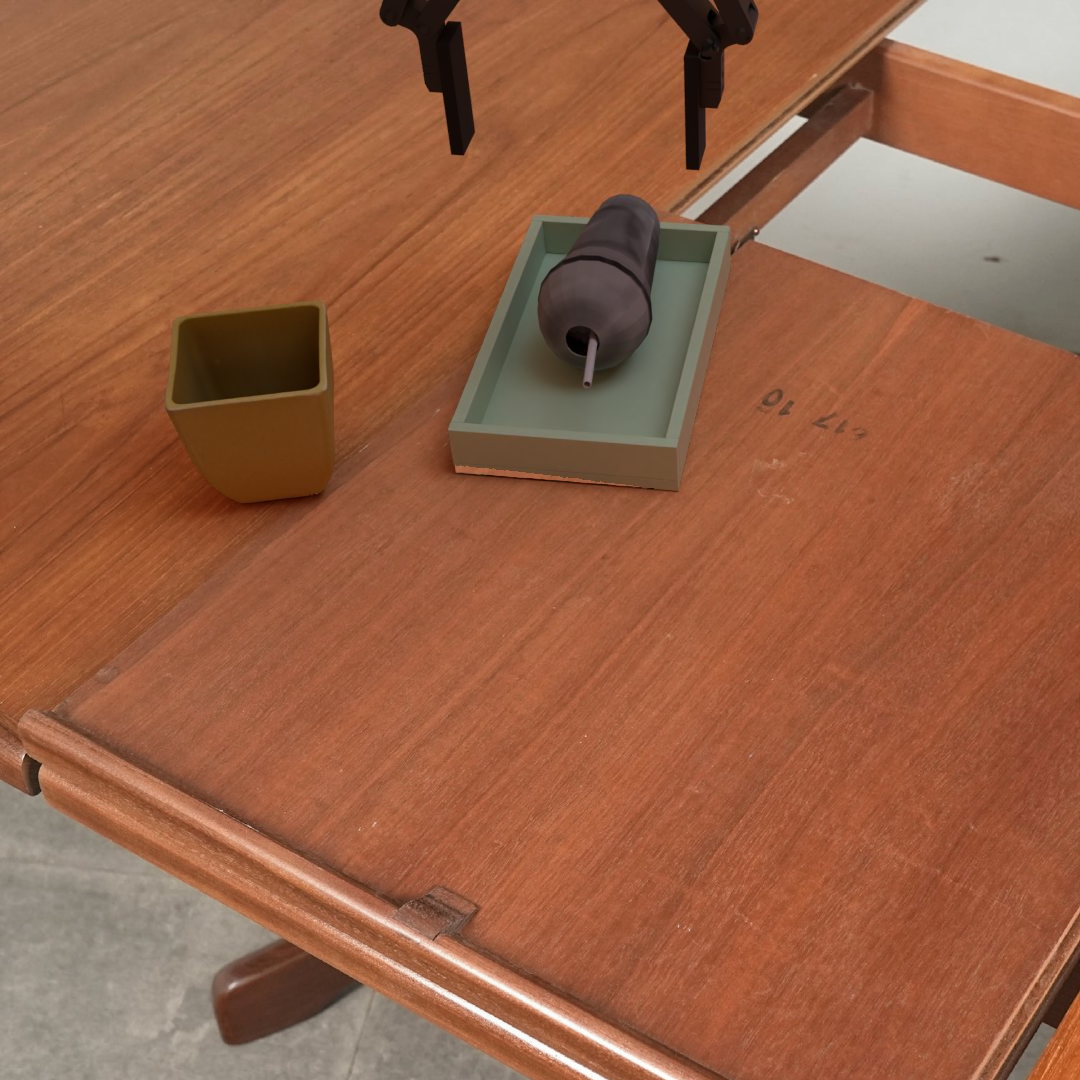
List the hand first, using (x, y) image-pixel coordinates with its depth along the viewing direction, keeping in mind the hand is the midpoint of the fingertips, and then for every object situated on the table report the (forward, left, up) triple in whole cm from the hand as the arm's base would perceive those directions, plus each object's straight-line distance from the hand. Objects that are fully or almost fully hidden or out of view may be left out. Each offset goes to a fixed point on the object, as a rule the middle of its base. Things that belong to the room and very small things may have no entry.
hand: (578, 151), depth 89 cm
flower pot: (-18, -12, -15) cm, 26 cm away
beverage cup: (+1, +11, -12) cm, 16 cm away
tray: (0, 0, -15) cm, 15 cm away
